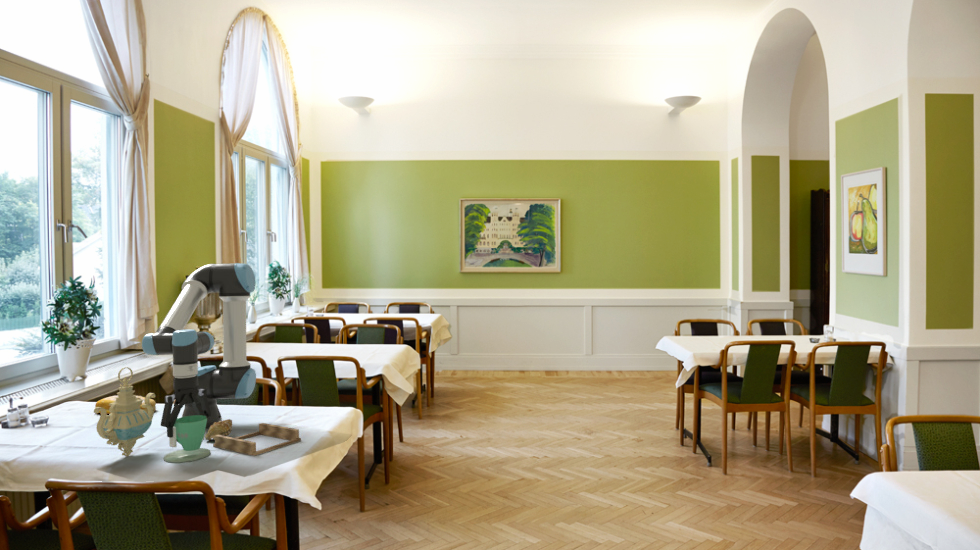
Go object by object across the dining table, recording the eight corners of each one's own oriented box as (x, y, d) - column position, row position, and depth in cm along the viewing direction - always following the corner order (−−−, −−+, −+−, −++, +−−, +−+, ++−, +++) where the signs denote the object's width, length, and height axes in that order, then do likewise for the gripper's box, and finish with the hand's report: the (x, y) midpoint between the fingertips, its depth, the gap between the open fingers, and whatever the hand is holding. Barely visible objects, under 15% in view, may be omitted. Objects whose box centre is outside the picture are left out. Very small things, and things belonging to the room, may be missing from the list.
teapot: (112, 468, 193) (109, 374, 193) (82, 466, 196) (79, 373, 195) (168, 446, 216) (166, 362, 216) (141, 445, 219) (139, 361, 219)
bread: (112, 410, 276) (112, 392, 276) (163, 412, 271) (163, 394, 271) (87, 417, 263) (87, 399, 263) (140, 419, 258) (140, 400, 258)
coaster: (154, 458, 203) (154, 456, 203) (194, 447, 215) (194, 445, 215) (180, 465, 196) (179, 463, 196) (219, 453, 208) (219, 451, 208)
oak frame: (213, 446, 216) (213, 435, 216) (260, 433, 233) (260, 422, 233) (254, 455, 205) (254, 443, 204) (300, 440, 222) (300, 429, 222)
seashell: (208, 443, 228) (218, 417, 233) (229, 447, 229) (239, 421, 233) (200, 437, 220) (211, 411, 225) (223, 442, 220) (233, 415, 225)
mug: (214, 446, 207) (213, 416, 207) (190, 454, 198) (189, 424, 198) (183, 441, 213) (182, 412, 212) (158, 449, 204) (157, 419, 203)
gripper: (160, 382, 194) (161, 453, 194) (221, 371, 213) (223, 436, 213) (146, 380, 198) (148, 449, 198) (208, 370, 216) (209, 433, 217)
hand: (187, 442), depth 205 cm, fingers closed on mug, 9 cm apart
